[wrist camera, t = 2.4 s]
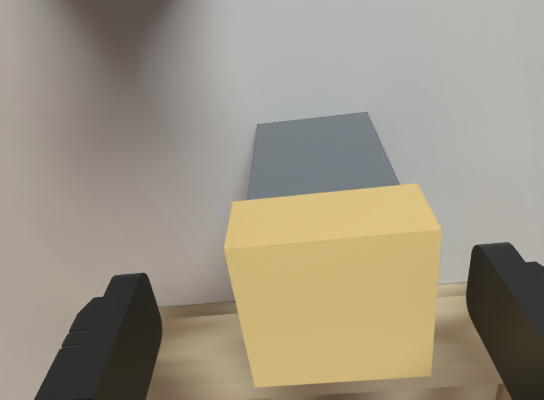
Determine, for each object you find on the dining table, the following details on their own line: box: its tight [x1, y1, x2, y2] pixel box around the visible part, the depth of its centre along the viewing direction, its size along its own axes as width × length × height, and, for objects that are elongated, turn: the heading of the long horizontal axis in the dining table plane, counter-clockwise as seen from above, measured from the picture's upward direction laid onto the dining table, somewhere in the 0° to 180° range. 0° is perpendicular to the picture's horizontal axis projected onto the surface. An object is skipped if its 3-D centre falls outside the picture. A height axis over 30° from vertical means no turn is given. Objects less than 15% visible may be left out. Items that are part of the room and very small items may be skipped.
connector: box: [224, 112, 442, 387], centre depth 14 cm, size 5×5×8 cm
